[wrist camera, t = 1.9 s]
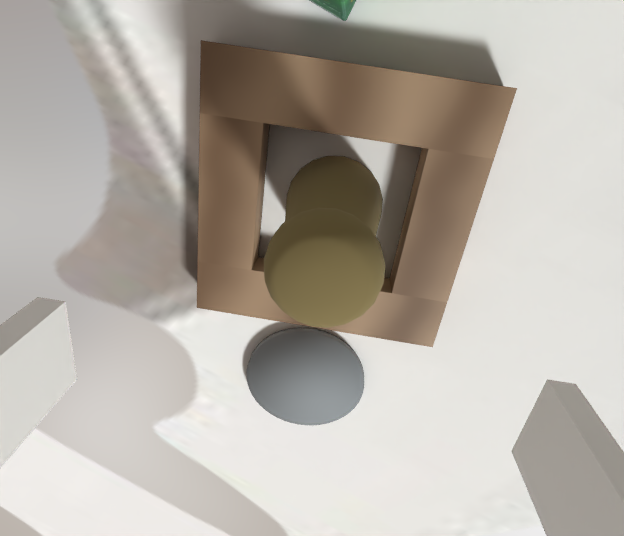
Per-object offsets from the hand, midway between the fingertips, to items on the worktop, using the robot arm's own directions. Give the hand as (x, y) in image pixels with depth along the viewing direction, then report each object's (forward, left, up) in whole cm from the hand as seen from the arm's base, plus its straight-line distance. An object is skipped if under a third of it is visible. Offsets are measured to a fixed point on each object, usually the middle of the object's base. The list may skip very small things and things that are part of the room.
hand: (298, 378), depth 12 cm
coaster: (0, +14, -16) cm, 22 cm away
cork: (0, 0, -17) cm, 17 cm away
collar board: (0, 0, -16) cm, 16 cm away
